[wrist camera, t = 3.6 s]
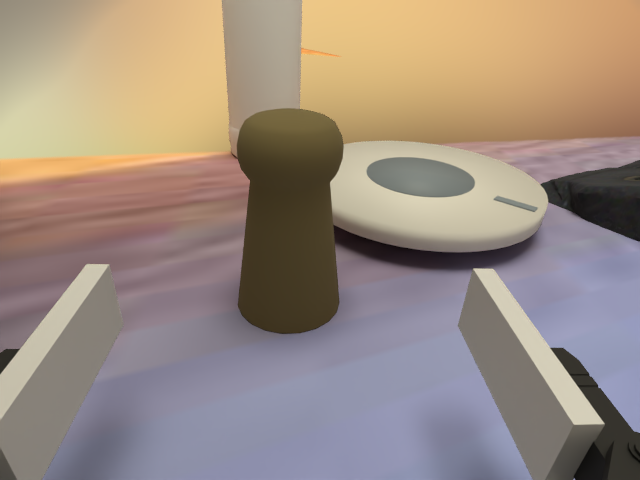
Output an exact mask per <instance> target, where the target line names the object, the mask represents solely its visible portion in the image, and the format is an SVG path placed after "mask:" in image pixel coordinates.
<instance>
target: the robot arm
mask: <svg viewBox="0 0 640 480" xmlns="http://www.w3.org/2000/svg"><path fill="white" fill-rule="evenodd" d="M123 325H124V324H123V319H122V315H121V311H120V307H119V303H118V299H117V294H116V290H115V286H114V282H113V278H112V273H111V269H110V265H109V264H87V265H86V266H85V267H84V268H83V270H82V271H81V272H80V274H79V275H78V276H77V277H76V279H75V280H74V281H73V282H72V284H71V285H70V286H69V288H68V289H67V290H66V291H65V293H64V294H63V295H62V296H61V298H60V299H59V300H58V302H57V303H56V304H55V305H54V307H53V308H52V309H51V310H50V312H49V313H48V314H47V316H46V317H45V318H44V319H43V321H42V322H41V323H40V325H39V326H38V327H37V328H36V330H35V331H34V332H33V333H32V335H31V336H30V337H29V339H28V340H27V341H26V342H25V344H24V345H23V346H22V347H21V349H5V350H4V351H3V352H1V353H0V480H42V479H43V477H44V475H45V473H46V471H47V469H48V467H49V465H50V463H51V462H52V460H53V458H54V456H55V454H56V452H57V450H58V448H59V446H60V444H61V443H62V441H63V439H64V437H65V435H66V433H67V431H68V429H69V427H70V426H71V424H72V422H73V420H74V418H75V416H76V414H77V412H78V410H79V408H80V407H81V405H82V403H83V401H84V399H85V397H86V395H87V393H88V391H89V390H90V388H91V386H92V384H93V382H94V380H95V378H96V376H97V374H98V372H99V371H100V369H101V367H102V365H103V363H104V361H105V359H106V357H107V355H108V354H109V352H110V350H111V348H112V346H113V344H114V342H115V340H116V338H117V336H118V335H119V333H120V331H121V329H122V327H123ZM458 327H459V329H460V331H461V333H462V335H463V337H464V339H465V341H466V343H467V345H468V347H469V349H470V352H471V354H472V356H473V358H474V360H475V362H476V364H477V366H478V368H479V370H480V372H481V374H482V376H483V378H484V380H485V382H486V384H487V386H488V388H489V390H490V393H491V395H492V397H493V399H494V401H495V403H496V405H497V407H498V409H499V411H500V413H501V415H502V417H503V419H504V421H505V423H506V425H507V427H508V429H509V431H510V433H511V436H512V438H513V440H514V442H515V444H516V446H517V448H518V450H519V452H520V454H521V456H522V458H523V460H524V462H525V464H526V466H527V468H528V470H529V472H530V474H531V477H532V479H533V480H573V479H574V478H575V480H640V433H638V432H634V431H633V430H632V429H631V427H630V426H629V425H628V423H627V422H626V421H625V420H624V418H623V417H622V416H621V414H620V413H619V412H618V410H617V409H616V408H615V407H614V405H613V404H612V403H611V401H610V400H609V399H608V398H607V396H606V395H605V394H604V392H603V391H602V390H601V388H598V385H597V383H596V382H595V381H594V379H593V378H592V377H590V376H589V373H588V372H587V370H586V369H585V368H584V366H583V365H582V364H581V363H580V361H579V360H578V359H577V358H575V357H574V356H573V355H571V354H570V353H569V352H567V351H566V350H565V349H564V348H550V347H549V346H548V344H547V343H546V342H545V340H544V339H543V337H542V336H541V335H540V333H539V332H538V331H537V329H536V328H535V326H534V325H533V324H532V322H531V321H530V319H529V318H528V317H527V315H526V314H525V312H524V311H523V310H522V308H521V307H520V305H519V304H518V303H517V301H516V300H515V299H514V297H513V296H512V294H511V293H510V292H509V290H508V289H507V287H506V286H505V285H504V283H503V282H502V280H501V279H500V278H499V276H498V275H497V273H496V272H495V271H494V269H473V271H472V274H471V278H470V282H469V286H468V289H467V293H466V297H465V301H464V304H463V308H462V312H461V316H460V319H459V323H458Z"/></svg>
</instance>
